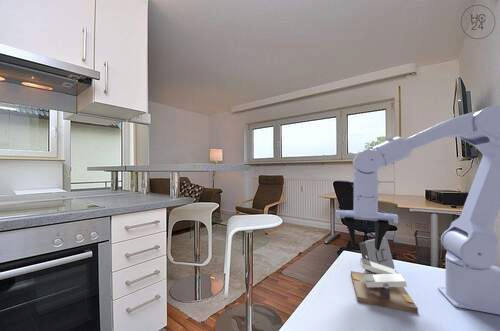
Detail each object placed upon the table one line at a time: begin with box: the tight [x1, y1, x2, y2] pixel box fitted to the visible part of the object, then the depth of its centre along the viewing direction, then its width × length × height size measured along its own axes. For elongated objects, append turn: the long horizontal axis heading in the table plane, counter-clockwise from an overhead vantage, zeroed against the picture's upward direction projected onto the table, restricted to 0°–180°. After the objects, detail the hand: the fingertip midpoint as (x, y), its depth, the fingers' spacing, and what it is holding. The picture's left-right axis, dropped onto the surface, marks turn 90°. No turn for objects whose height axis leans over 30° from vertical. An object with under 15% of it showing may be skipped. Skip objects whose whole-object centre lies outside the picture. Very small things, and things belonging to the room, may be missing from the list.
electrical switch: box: [358, 236, 396, 274], centre depth 66 cm, size 9×5×9 cm, turn 116°
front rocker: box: [363, 273, 408, 288], centre depth 50 cm, size 8×4×2 cm, turn 71°
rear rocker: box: [359, 257, 398, 274], centre depth 56 cm, size 8×4×2 cm, turn 71°
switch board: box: [350, 270, 419, 314], centre depth 53 cm, size 12×13×3 cm
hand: (364, 247), depth 57 cm, fingers open, 5 cm apart
